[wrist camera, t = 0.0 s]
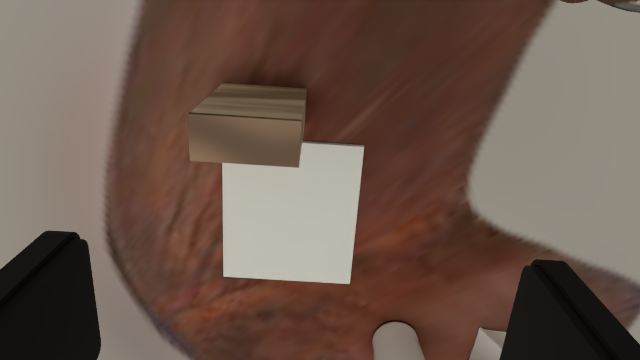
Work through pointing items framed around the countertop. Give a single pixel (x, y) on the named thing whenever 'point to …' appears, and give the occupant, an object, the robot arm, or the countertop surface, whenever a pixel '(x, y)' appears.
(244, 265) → the mat
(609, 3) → the beer glass
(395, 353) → the drinking glass
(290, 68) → the countertop surface
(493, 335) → the skyscraper
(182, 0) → the countertop surface
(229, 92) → the slab
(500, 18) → the countertop surface
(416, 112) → the countertop surface
